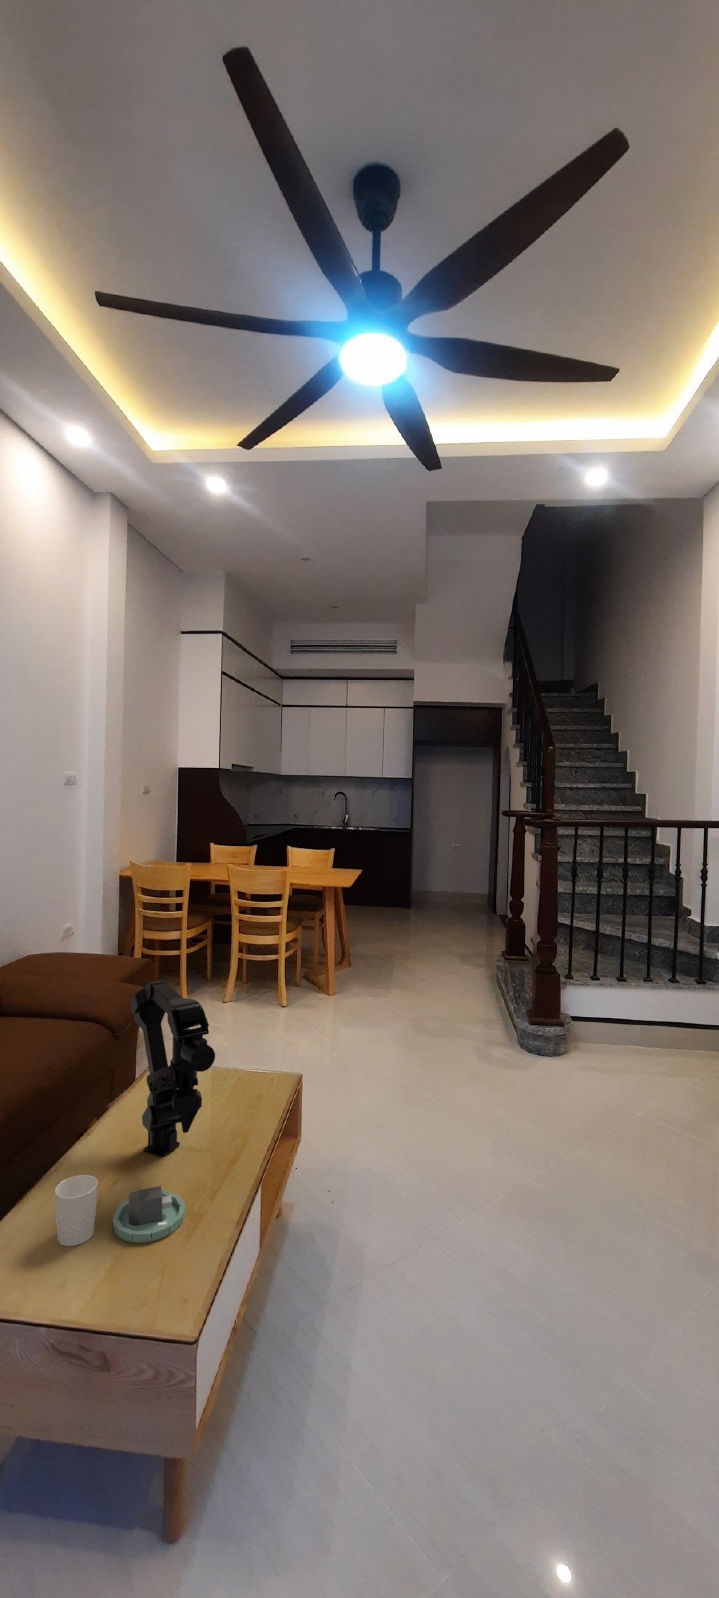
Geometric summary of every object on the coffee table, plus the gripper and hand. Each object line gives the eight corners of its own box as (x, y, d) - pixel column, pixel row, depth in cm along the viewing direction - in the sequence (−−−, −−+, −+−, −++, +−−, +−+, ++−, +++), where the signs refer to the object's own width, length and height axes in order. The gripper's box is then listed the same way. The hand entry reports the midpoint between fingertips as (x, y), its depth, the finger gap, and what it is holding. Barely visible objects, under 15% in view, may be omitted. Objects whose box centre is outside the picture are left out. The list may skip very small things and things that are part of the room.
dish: (98, 1230, 132) (98, 1222, 132) (147, 1193, 145) (147, 1185, 145) (152, 1251, 126) (152, 1242, 126) (198, 1210, 139) (198, 1202, 139)
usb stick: (128, 1227, 132) (129, 1203, 132) (128, 1215, 136) (128, 1192, 136) (171, 1218, 135) (172, 1194, 135) (170, 1207, 139) (170, 1184, 139)
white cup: (105, 1228, 133) (106, 1179, 133) (77, 1253, 126) (77, 1201, 126) (74, 1219, 136) (75, 1171, 136) (45, 1243, 128) (45, 1193, 128)
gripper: (147, 1045, 159) (146, 1109, 159) (150, 1077, 141) (149, 1148, 141) (194, 1040, 163) (193, 1102, 163) (202, 1071, 145) (201, 1140, 145)
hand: (183, 1122), depth 153 cm, fingers open, 9 cm apart
